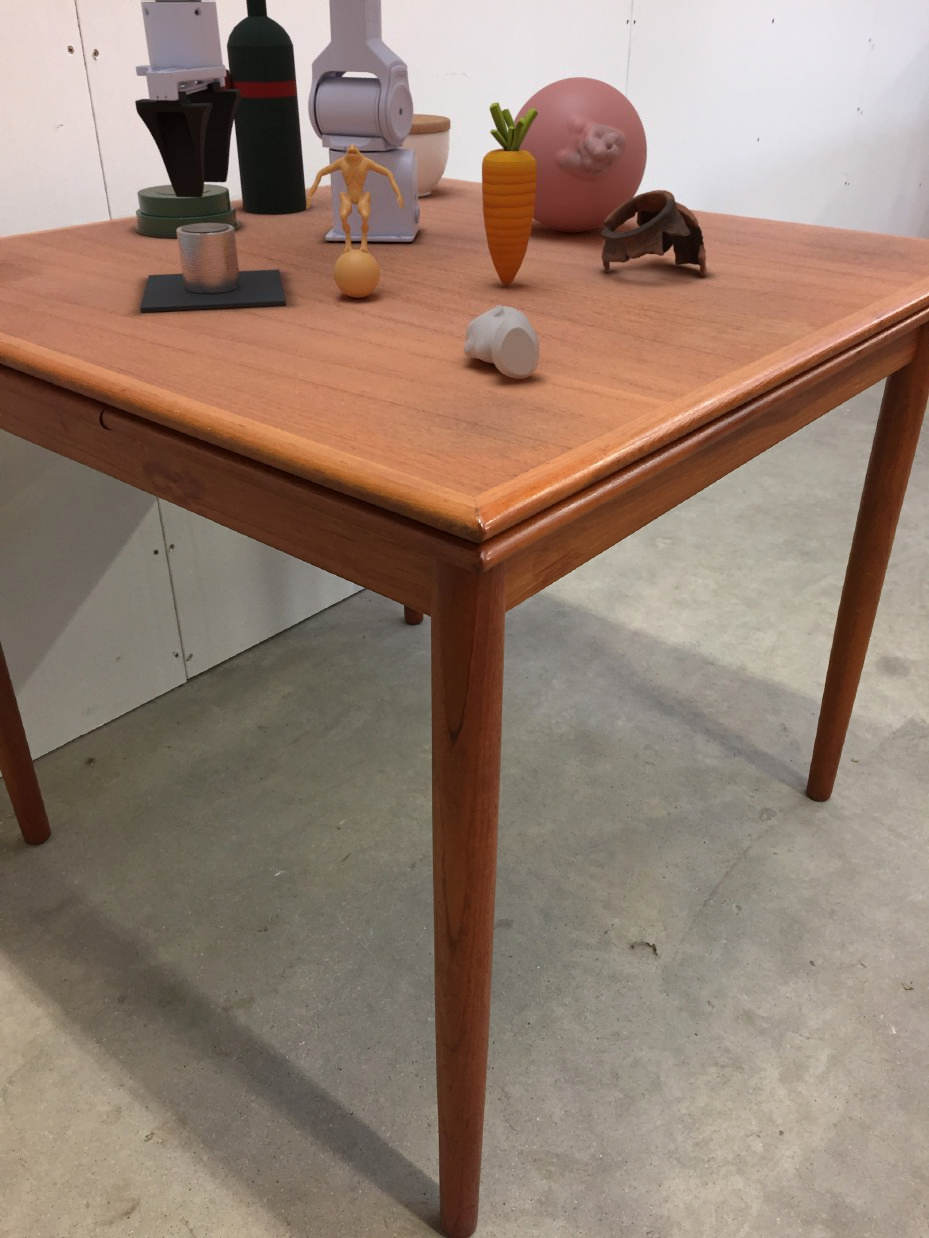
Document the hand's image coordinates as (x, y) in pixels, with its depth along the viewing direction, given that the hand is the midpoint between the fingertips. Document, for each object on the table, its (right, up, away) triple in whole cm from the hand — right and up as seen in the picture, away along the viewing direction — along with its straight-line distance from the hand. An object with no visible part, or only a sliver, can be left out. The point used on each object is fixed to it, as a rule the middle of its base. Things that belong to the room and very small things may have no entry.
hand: (202, 189), depth 86 cm
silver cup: (0, -7, +4) cm, 8 cm away
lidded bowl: (+14, +21, +50) cm, 56 cm away
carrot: (+26, -6, +6) cm, 28 cm away
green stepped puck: (-9, +8, +29) cm, 32 cm away
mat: (0, -7, +4) cm, 9 cm away
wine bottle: (-2, +15, +40) cm, 43 cm away
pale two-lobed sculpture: (+25, -19, -14) cm, 34 cm away
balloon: (+35, +6, +26) cm, 44 cm away
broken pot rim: (+41, -3, +12) cm, 42 cm away
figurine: (+13, -8, +4) cm, 16 cm away
